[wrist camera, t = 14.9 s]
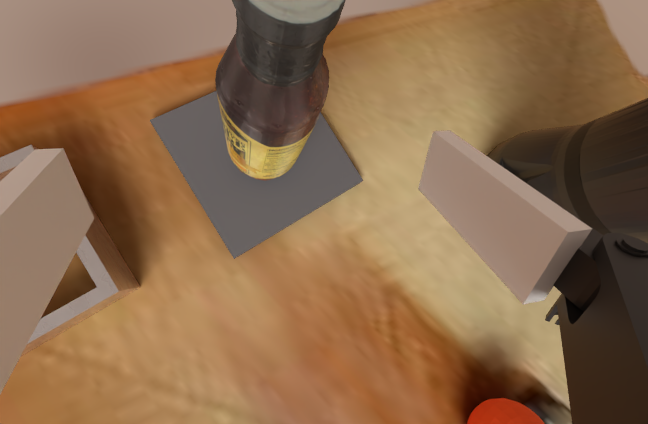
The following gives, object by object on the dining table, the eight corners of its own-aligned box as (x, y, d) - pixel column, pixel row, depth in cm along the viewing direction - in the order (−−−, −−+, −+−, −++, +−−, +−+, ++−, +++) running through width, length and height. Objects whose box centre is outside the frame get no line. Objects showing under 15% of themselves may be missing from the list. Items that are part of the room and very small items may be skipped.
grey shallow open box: (66, 163, 27) (30, 144, 23) (140, 287, 27) (119, 291, 22) (-87, 232, 24) (-162, 225, 20) (-6, 371, 24) (-63, 395, 20)
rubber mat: (286, 65, 33) (287, 59, 32) (359, 182, 32) (363, 180, 32) (153, 125, 29) (149, 120, 28) (234, 258, 29) (233, 258, 28)
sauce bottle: (226, 118, 30) (185, -152, 10) (294, 119, 31) (368, -117, 12) (229, 188, 29) (190, 33, 9) (300, 186, 30) (388, 47, 11)
